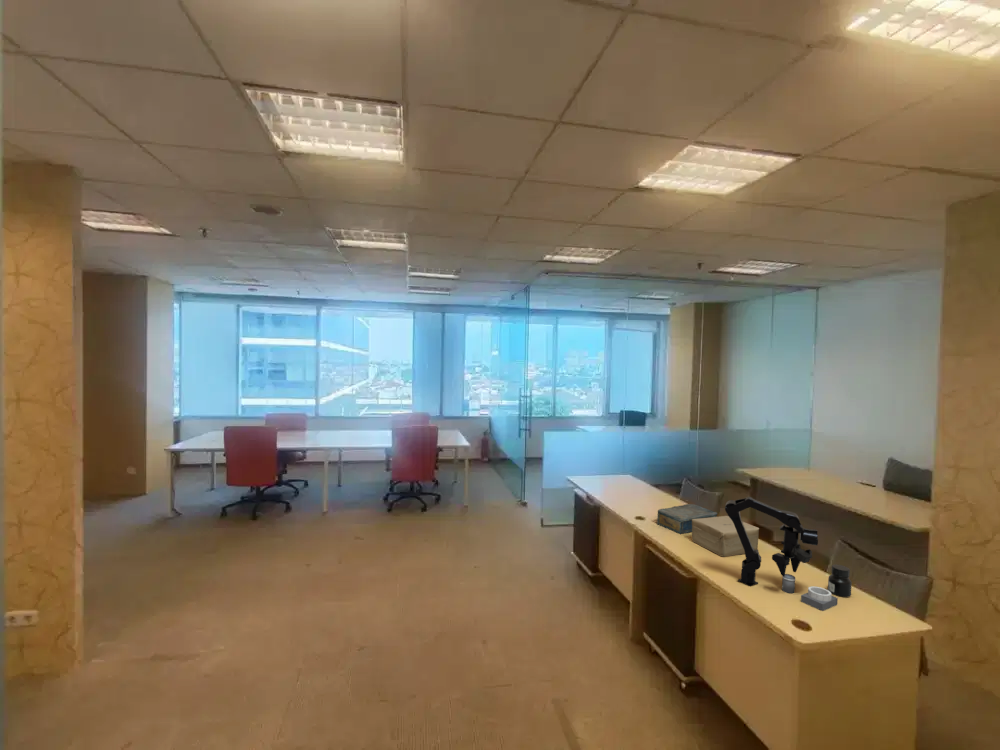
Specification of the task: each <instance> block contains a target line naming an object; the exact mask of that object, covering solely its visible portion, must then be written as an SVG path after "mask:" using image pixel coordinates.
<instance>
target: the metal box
mask: <svg viewBox="0 0 1000 750" xmlns="http://www.w3.org/2000/svg"><path fill="white" fill-rule="evenodd" d="M710 517H718V512H717V511H713V510H711V509H708V508H705V507H702V506H700V505H697V504H694V503H686V504H682V505H677V506H676V505H675V506H672V507H666V508H659V509H658V510H657V518H656V519H657V520H656V525H658V526H660V527H662V528H665V529H667V530H671V531H672V532H675V533H676V534H678V535H687V534H690V533H691V534H692V519H700V518H710Z"/></svg>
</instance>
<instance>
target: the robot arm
mask: <svg viewBox="0 0 1000 750" xmlns="http://www.w3.org/2000/svg"><path fill="white" fill-rule="evenodd" d="M748 508H749V509H750V508H751V509H754V510H756V511H758V512H761V513H763V514H766V515H768V516H770V517H772V518H775V519H777V520H778V521H779V522H781V523H782V525H780V526H779V530H780V531H784V532H783V540H781V545H783V546H782V549H781V550H780V552H776V553H774V554H772V555H771V560H772V561H773V562H774V563H775V564H776V566H777V569H778V570H779V572H780V575H781V576H785V574H786V570H787V566H789V565H790V563H791V568H792V572H793V573H796V572H797V570H798V568H799V566H800V563H803V564H806V563H809V562H810V560H811V559H812V558H813V550H811V549H808V548H807V549H802V548H801V543H799V541H801V542H802V544H806V545H807V544H808V545H811V546H812V545H813V546H818V544H819V539H818V530H817V529H814V528H813V529H812V528H806V527H803V524H802V523H801V522H800V517H799V516H798V515H799V514H797V513H795V512H794V511H789V510H785V509H779V508H778V507H777V508H776V507H774V506H771V505H770V504H767V503H765V502H762V501H759V500H758V499H755V498H754V497H752V496H746V497H744V498H740V499H739V498H738V499H736V500H733V499H730V500H728V501H726V502H725V507H724V510H725V511H724V512H726V514H727V516H729V517H730V519H731V520H732V521H733V523H734V526H735V528H736V531H737V533H738V536H739V538H740V540H741V543H742V545H743V548H744V551H745V554H744V555H745V559H743V560H742V562H741V572H740V573H741V574H740V575H741V576H740V578H738V579H737V581H738V582H740V583H742V584H745V585H747V586H748V587H752V586H755V585H757V584H759V582H758V581H756V573H757V570H759V569H760V568H761V563H762V556H761V555H760V552H759V548H758V549H757V550H755V549H754V548H753V547H752V545H751V542H750V540H749V537H748V535H747V532H746V530H745V527H744V525H743V522H744V521H743V520H742V517H741V512H742V511H744V510H747V509H748Z"/></svg>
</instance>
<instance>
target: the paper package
mask: <svg viewBox="0 0 1000 750" xmlns="http://www.w3.org/2000/svg"><path fill="white" fill-rule="evenodd" d="M742 522H743V525H744V527H745V530H746V532H747V535H748V537H749V540H750V542H751V545H752V547H753V548H754V549H755V550H757V549H758V550H759V548H758V547H759V546H758V545H759V536H760V535H759V532H760V531H759V530H760V528H759V527H757V526H754V525H752V524H750V523H747V522H745V521H742ZM691 540H692V542H693V543H695V544H696V545H699V546H700V547H703V548H705V549H707V551H710V552H712V553H714V554H715V555H718V556H720V557H730V556H738V555H739V556H740V555H745V551H744V548H743V545H742V543H741V540H740V538H739V536H738V533H737V531H736V528H735V526H734V523H733V521H732V520H731V519H730V517H729V516H728V515H721V516H720V515H719V516H717V517H710V518H700V519H692V532H691Z"/></svg>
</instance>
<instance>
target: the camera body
mask: <svg viewBox="0 0 1000 750" xmlns="http://www.w3.org/2000/svg"><path fill="white" fill-rule="evenodd" d="M807 589H808V590H807V592H806V593H803V594H801V595H800V602H801V603H803V604H806V605H807V606H810V607H812V608H814V609H817V610H819V611H822V612H823V611H826V610H829V609H831V608H834V607H835V606H837V605H838V599H839V598H838V597H836V596H834V595H833V594H832V593H831V592H830V591H828V589H826V588H824V587H820V586H808V588H807Z"/></svg>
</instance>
